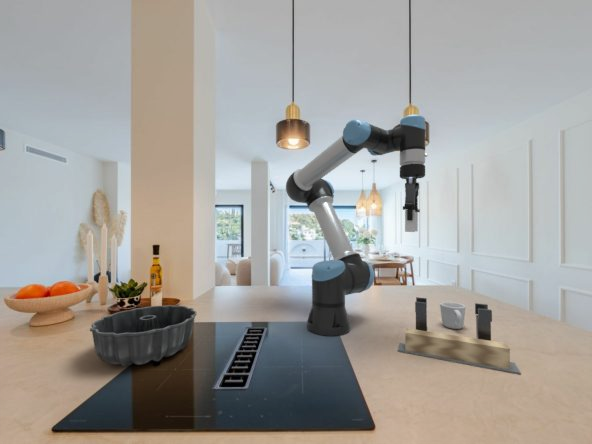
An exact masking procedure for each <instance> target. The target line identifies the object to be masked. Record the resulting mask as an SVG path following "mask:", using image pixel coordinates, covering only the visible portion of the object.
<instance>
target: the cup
mask: <svg viewBox="0 0 592 444" xmlns="http://www.w3.org/2000/svg"><path fill="white" fill-rule="evenodd" d="M439 307H440V308H439V309H440V315H441V321H442V325H443V326H444V327H446V328H448V329H453V330H462V328H463V327H464V325H465V315H466V306H465V304H463V303H459V302H454V301H443V302H440V303H439Z"/></svg>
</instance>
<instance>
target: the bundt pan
mask: <svg viewBox="0 0 592 444" xmlns="http://www.w3.org/2000/svg"><path fill="white" fill-rule="evenodd" d="M197 315H198V314H197V310H194V308H192V307H188V306H185V305H172V304H169V305H168V304H167V305H153V306H145V307H137V308H132V309H129V310H123V311H122V310H121V311H118V312H115V313H112V314H110V315H105V316H102V317H101V318H100V319H98V320H95V321H94V322H92V323H91V327H90V328H89V331H90V332H91V333H92V334H91V335H92V340H93V345H94V350H95V355H96V356H97V357H98V358H99V359H100V360H102V361H104V362H106V363H108V364H110V365H121V366H122V367H129V366H131V365H133V364H134V365H137V366H139V365H140V366H141V365H145V364H147V363H149V362H151V361H154V362H156V363H158V362H160V361H161V360H162V359H163V358H168V357H170V356H173V355H175V354H176V353H177V352H179V351H180V352H181V351H182V350H183V349H184V348H186V347H187V345H188V343H189V341H190V339H191V337H192V335H193V330H194V323H195V318H196V316H197Z"/></svg>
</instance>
